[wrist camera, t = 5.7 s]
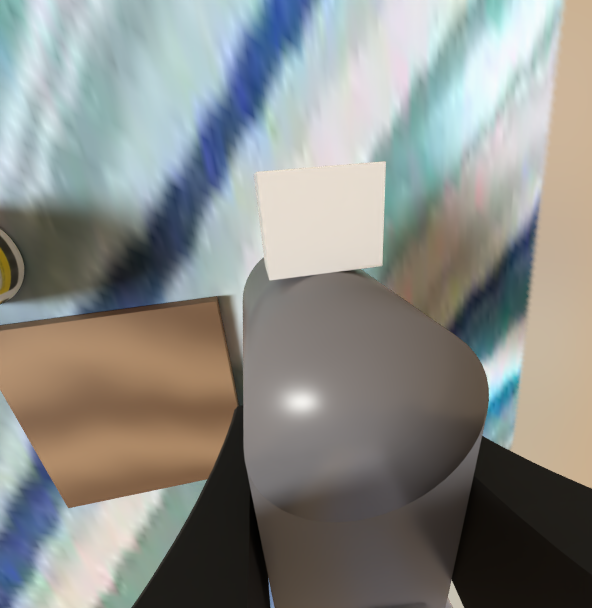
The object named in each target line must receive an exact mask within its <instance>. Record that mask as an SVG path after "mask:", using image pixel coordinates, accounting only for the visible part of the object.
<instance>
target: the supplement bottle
mask: <svg viewBox="0 0 592 608" xmlns="http://www.w3.org/2000/svg"><path fill="white" fill-rule="evenodd" d="M23 278H24V262H23V259H22V256H21V254H20V252H19V250H18V248H17V246H16V245H15V244H14V242H13V241H12V240H11V238H10V237H9V236H8V235H7V234H6V233H5V232H4V231H2V230H1V229H0V304H2V303H4V302H6V301H8V300H9V299H11V298H12V297H13V296H14V295H15V294H16V293H17V292H18V290H19V289H20V287H21V284H22V282H23Z"/></svg>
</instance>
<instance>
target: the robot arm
mask: <svg viewBox="0 0 592 608" xmlns="http://www.w3.org/2000/svg"><path fill="white" fill-rule="evenodd" d="M452 581H453V584H454V586H455V588H456V590H457V593H458V595H459V597H460V599H461V601H462V604H463V606H464V608H592V489H591V488H589V487H586V486H584V485H582V484H579V483H577V482H575V481H573V480H570V479H568V478H566V477H563V476H561V475H559V474H556V473H555V472H552V471H550V470H548V469H546V468H544V467H542V466H539V465H537V464H535V463H533V462H531V461H529V460H527V459H525V458H523V457H521V456H519V455H517V454H515V453H513V452H511V451H509V450H507V449H505V448H503V447H502V446H500V445H498V444H496V443H494V442H492V441H491V440H489V439H487V438H485V437H484V436H482V439H481V443H480V448H479V453H478V457H477V462H476V467H475V471H474V476H473V481H472V486H471V490H470V495H469V500H468V504H467V509H466V514H465V518H464V523H463V528H462V532H461V537H460V542H459V546H458V551H457V556H456V561H455V565H454V570H453V575H452ZM132 608H270V597H269V582H268V572H267V567H266V562H265V557H264V553H263V548H262V543H261V538H260V533H259V528H258V523H257V518H256V513H255V508H254V503H253V499H252V494H251V489H250V484H249V479H248V474H247V469H246V464H245V457H244V430H243V406H237V408H236V409H235V410H234V413H233V417H232V421H231V424H230V427H229V430H228V432H227V435H226V438H225V440H224V443H223V446H222V448H221V450H220V453H219V455H218V457H217V460H216V462H215V465H214V467H213V469H212V471H211V473H210V475H209V477H208V479H207V481H206V484H205V486H204V488H203V490H202V492H201V494H200V496H199V498H198V500H197V502H196V504H195V506H194V507H193V509H192V511H191V513H190V515H189V517H188V518H187V520H186V522H185V524H184V526H183V527H182V529H181V531H180V533H179V534H178V536H177V538H176V539H175V541H174V543H173V544H172V546H171V548H170V549H169V551H168V552H167V554H166V556H165V557H164V559H163V561H162V562H161V564H160V565H159V567H158V569H157V570H156V572H155V573H154V575H153V577H152V578H151V580H150V581H149V583H148V584H147V586H146V587H145V589H144V590H143V592H142V593H141V595H140V596H139V598H138V599H137V601H136V602H135V603H134V605H133V606H132ZM445 608H453V607H452V605H451V603H450V601H449V599H448V598H447V603H446V607H445Z"/></svg>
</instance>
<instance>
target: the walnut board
mask: <svg viewBox="0 0 592 608" xmlns="http://www.w3.org/2000/svg"><path fill="white" fill-rule="evenodd" d="M0 390H1V392H2V394H3V395H4V397H5V399H6V401H7V402H8V404H9V406H10V408H11V409H12V411H13V413H14V414H15V416H16V418H17V420H18V421H19V423H20V425H21V427H22V428H23V430H24V432H25V434H26V435H27V437H28V439H29V441H30V442H31V444H32V446H33V447H34V449H35V451H36V453H37V454H38V456H39V458H40V460H41V461H42V463H43V465H44V467H45V468H46V470H47V472H48V474H49V475H50V477H51V479H52V481H53V482H54V484H55V486H56V487H57V489H58V491H59V493H60V494H61V496H62V498H63V500H64V501H65V503H66V505H67V507H68V508H71V507H76V506H81V505H86V504H91V503H95V502H100V501H105V500H110V499H115V498H119V497H124V496H129V495H134V494H138V493H143V492H148V491H153V490H158V489H162V488H167V487H172V486H177V485H182V484H186V483H191V482H196V481H201V480H206V479H208V477H209V475H210V473H211V471H212V469H213V467H214V465H215V462H216V460H217V457H218V455H219V453H220V450H221V448H222V446H223V443H224V440H225V438H226V435H227V432H228V430H229V427H230V424H231V421H232V417H233V413H234V410H235V409H236V408H237V406H239V403H238V398H237V393H236V388H235V383H234V378H233V373H232V368H231V363H230V358H229V353H228V348H227V343H226V338H225V333H224V327H223V322H222V317H221V312H220V307H219V302H218V297H217V296H216V297H209V298H201V299H194V300H187V301H179V302H172V303H164V304H157V305H149V306H142V307H134V308H127V309H120V310H112V311H105V312H97V313H90V314H82V315H75V316H67V317H60V318H53V319H45V320H38V321H30V322H23V323H15V324H8V325H0Z"/></svg>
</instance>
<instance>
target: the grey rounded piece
mask: <svg viewBox="0 0 592 608" xmlns="http://www.w3.org/2000/svg"><path fill="white" fill-rule="evenodd" d="M385 168H386V161H385V162H372V163H360V164H348V165H336V166H323V167H311V168H299V169H287V170H274V171H262V172H256V173H255V174H254V180H255V188H256V196H257V204H258V212H259V220H260V228H261V236H262V245H263V253H264V258H262V259H261V260H260V261H259V262H258V263H257V265H256V266H255V267H254V268H253V270H252V271H251V273H250V275H249V277H248V279H247V281H246V284H245V288H244V293H243V430H244V457H245V464H246V469H247V474H248V479H249V484H250V489H251V494H252V499H253V503H254V508H255V513H256V518H257V523H258V528H259V533H260V538H261V543H262V548H263V553H264V557H265V562H266V567H267V572H268V577H269V582H270V587H271V592H272V597H273V602H274V606H275V608H445V607H446V603H447V598H448V593H449V589H450V584H451V579H452V575H453V570H454V565H455V561H456V556H457V551H458V546H459V542H460V537H461V532H462V528H463V523H464V518H465V514H466V509H467V504H468V500H469V495H470V490H471V486H472V481H473V476H474V471H475V467H476V462H477V457H478V453H479V448H480V443H481V439H482V434H483V429H484V425H485V420H486V415H487V409H488V402H489V388H488V382H487V377H486V374H485V371H484V369H483V366H482V364H481V362H480V360H479V359H478V357H477V356H476V354H475V353H474V352H473V351H472V349H471V348H470V347H469V346H468V345H467V344H466V343H465V342H463V341H462V340H461V339H459V338H458V337H457V336H455V335H454V334H453V333H451V332H450V331H448V330H447V329H445V328H444V327H443V326H441V325H440V324H438V323H437V322H435V321H434V320H433V319H431V318H430V317H428V316H427V315H425V314H424V313H423V312H421V311H420V310H418V309H417V308H415V307H414V306H413V305H411V304H410V303H408V302H407V301H405V300H404V299H403V298H401V297H400V296H398V295H397V294H395V293H394V292H393V291H391V290H390V289H388V288H387V287H385V286H384V285H383V284H381V283H380V282H378V281H377V280H375V279H374V278H373V277H371V276H370V275H368V274H367V273H365V272H364V271H363V270H361V269H363V268H371V267H379V266H382V261H383V230H384V199H385Z"/></svg>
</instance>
